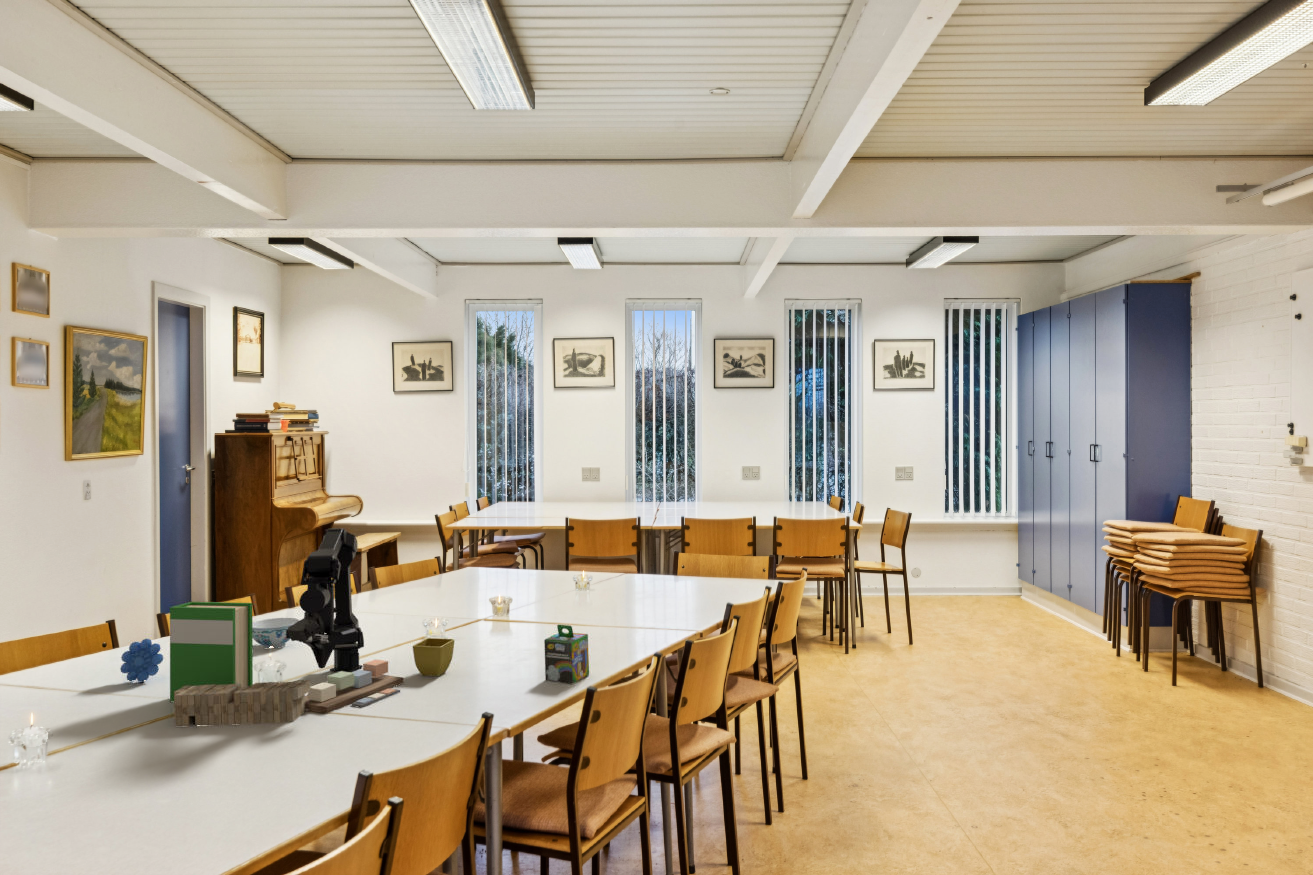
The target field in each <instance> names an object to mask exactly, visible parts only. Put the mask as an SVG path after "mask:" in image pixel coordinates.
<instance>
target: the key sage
mask: <svg viewBox="0 0 1313 875" xmlns="http://www.w3.org/2000/svg"><path fill="white" fill-rule="evenodd" d="M326 678H327V682H326V683H330V684H336V689H339V690H342V689H344V688H347V687H350V686H352V685H354V673H351V671H350V672H343V671H340V672H335V673H332V674H329V675H327V677H326Z"/></svg>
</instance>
